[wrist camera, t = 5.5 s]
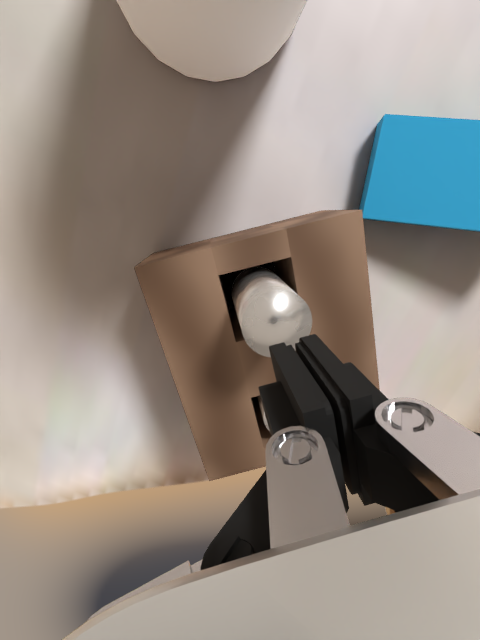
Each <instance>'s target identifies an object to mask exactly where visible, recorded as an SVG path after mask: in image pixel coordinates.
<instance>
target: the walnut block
mask: <svg viewBox="0 0 480 640" xmlns="http://www.w3.org/2000/svg"><path fill="white" fill-rule="evenodd" d="M269 262H273V264H274V269H275V274H276V275H277V276H278V277H279V278H280V279H281V280H282V281H284V282H285V283H286V284H287V285H288V286H289V287H290V288H291V289H292V290H293V291H295V292H296V293H297V294H298V295H299V296H300V297H301V298H302V299H303V300H304V301H305V302H306V303H307V305H308V307H309V308H310V311H311V315H312V328H311V332H310V334H309V335H312V334H316V335H317V336H318V337H319V338H320V339H321V340H322V341H323V342H324V344H325V345H326V346H327V347H328V348H329V349H330V350H331V351H332V352H333V353H334V354H335V355H336V356H337V358H338V359H339V360H340V361H341V362H342V363H343V364H344V363H348V362H351V363H352V364H354V365H355V366H356V367H357V368H358V369H359V370H360V371H361V372H362V373H363V374H364V375H365V376H366V378H367V379H368V380H369V381H370V382H371V383H372V384H373V385H374V386H375V387H376V388H377V389H378V390H379V380H378V369H377V359H376V349H375V338H374V328H373V317H372V307H371V297H370V286H369V276H368V266H367V255H366V245H365V234H364V224H363V214H362V210H324V211H318V212H314V213H310V214H306V215H302V216H298V217H294V218H290V219H286V220H283V221H279V222H275V223H271V224H267V225H263V226H259V227H255V228H251V229H247V230H243V231H239V232H235V233H231V234H227V235H223V236H219V237H215V238H211V239H207V240H203V241H199V242H195V243H191V244H187V245H183V246H179V247H175V248H171V249H167V250H163V251H159V252H156V253H153V254H151V255H150V256H149V257H147V258H146V259H145V260H143V261H142V262H141V263H139V264H138V265H137V266H135V267H134V269H135V272H136V274H137V277H138V280H139V283H140V286H141V289H142V291H143V294H144V297H145V300H146V303H147V306H148V308H149V311H150V314H151V317H152V320H153V323H154V325H155V328H156V331H157V334H158V337H159V340H160V342H161V345H162V348H163V351H164V354H165V357H166V359H167V362H168V365H169V368H170V371H171V374H172V377H173V379H174V382H175V385H176V388H177V391H178V394H179V396H180V399H181V402H182V405H183V408H184V411H185V413H186V416H187V419H188V422H189V425H190V428H191V430H192V433H193V436H194V439H195V442H196V445H197V447H198V450H199V453H200V456H201V459H202V462H203V465H204V467H205V470H206V473H207V476H208V479H209V481H211V480H215V479H219V478H223V477H227V476H230V475H234V474H238V473H242V472H246V471H249V470H253V469H257V468H261V467H264V466H266V454H265V450H266V444H267V442H268V441H269V439H270V438H271V433H270V431H269V430H268V429H267V428H266V426H265V424H264V420H263V417H262V413H261V409H260V406H259V402H258V398H257V396H259V395H260V393H259V388H258V387H259V386H263V385H266V384H270V383H274V382H276V377H275V373H274V369H273V364H272V360H271V357H266V356H263V355H260V354H258V353H256V352H255V351H253V350H252V349H251V348H250V347H249V346H248V344H247V343H246V341H245V339H244V337H243V334H242V330H241V327H240V323H239V320H238V316H237V313H236V310H232V311H229V309H228V305H227V301H226V297H225V293H224V290H223V286H222V282H221V278H220V275H222V274H226V273H230V272H234V271H238V270H242V269H246V268H250V267H253V266H257V265H261V264H265V263H269ZM379 391H380V390H379Z"/></svg>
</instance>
